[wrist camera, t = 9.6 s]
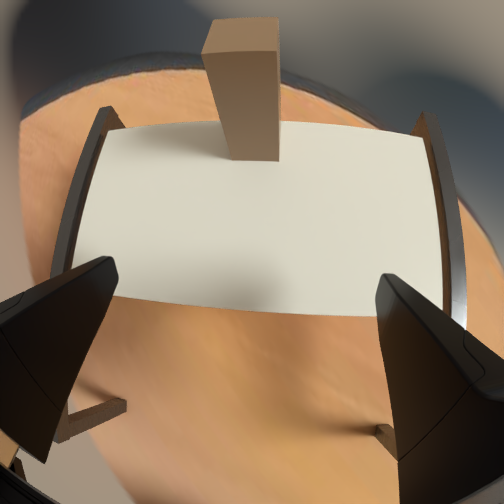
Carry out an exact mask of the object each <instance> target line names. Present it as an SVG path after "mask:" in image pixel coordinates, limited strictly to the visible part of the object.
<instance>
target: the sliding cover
mask: <svg viewBox="0 0 504 504" xmlns="http://www.w3.org/2000/svg"><path fill="white" fill-rule="evenodd" d="M201 55H202V59H203V62H204V66H205V69H206V72H207V76H208V79H209V83H210V86H211V90H212V93H213V97H214V100H215V104H216V107H217V111H218V114H219V118H220V121H199V122H182V123H169V124H158V125H148V126H140V127H132V128H124V129H117V130H110V131H108V133H107V136H106V139H105V142H104V144H103V147H102V150H101V153H100V156H99V159H98V162H97V165H96V168H95V171H94V175H93V178H92V181H91V185H90V188H89V192H88V195H87V199H86V203H85V207H84V211H83V215H82V219H81V223H80V228H79V232H78V237H77V242H76V247H75V252H74V257H73V263H72V269H73V268H75V267H77V266H80V265H82V264H84V263H86V262H89V261H91V260H93V259H95V258H98V257H100V256H112V257H113V258H114V261H115V264H116V268H117V271H118V275H119V281H118V284H117V287H116V289H115V292H114V294H113V296H118V297H125V298H132V299H140V300H147V301H155V302H163V303H171V304H180V305H189V306H199V307H208V308H219V309H230V310H242V311H255V312H269V313H284V314H302V315H325V316H357V317H377V313H376V305H375V295H376V291H377V287H378V284H379V280H380V277H381V275H382V274H383V273H393V274H395V275H397V276H398V277H399V278H401V279H402V280H403V281H405V282H406V283H407V284H409V285H410V286H411V287H413V288H414V289H415V290H417V291H418V292H419V293H421V294H422V295H423V296H424V297H426V298H427V299H428V300H430V301H431V302H432V303H433V304H435V305H436V306H437V307H439V308H440V309H441V310H442V311H443V288H442V262H441V247H440V236H439V226H438V218H437V210H436V203H435V196H434V190H433V184H432V179H431V173H430V168H429V164H428V159H427V154H426V150H425V146H424V142H423V138H421V137H416V136H410V135H405V134H399V133H394V132H388V131H381V130H374V129H367V128H360V127H352V126H343V125H333V124H322V123H309V122H292V121H281V97H280V56H279V55H280V53H279V24H278V17H254V18H231V19H218V20H213V23H212V25H211V28H210V31H209V33H208V36H207V39H206V42H205V44H204V47H203V50H202V53H201Z"/></svg>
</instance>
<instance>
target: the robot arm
mask: <svg viewBox="0 0 504 504" xmlns="http://www.w3.org/2000/svg"><path fill="white" fill-rule="evenodd" d="M118 281H119V275H118V271H117V268H116V264H115V261H114V258H113V257H112V256H100V257H98V258H95V259H93V260H91V261H89V262H86V263H84V264H82V265H80V266H77V267H75V268H73V269H71V270H68V271H66V272H64V273H62V274H60V275H57V276H55V277H53V278H51V279H49V280H47V281H45V282H42V283H40V284H38V285H36V286H34V287H32V288H30V289H28V290H26V291H25V292H22V293H20V294H18V295H16V296H13V297H12V298H9V299H7V300H5V301H3V302H1V303H0V504H60V503H59V502H57V501H55V500H53V499H52V498H50V497H49V496H47V495H45V494H44V493H42V492H41V491H39V490H38V489H36V488H35V487H33V486H32V485H30V484H29V483H28V482H27V481H26V477H25V474H24V470H23V466H22V462H21V460H20V459H18V458H17V457H16V454H17V452H18V450H19V448H21V449H22V450H23V451H25V452H26V453H28V454H29V455H31V456H32V457H34V458H35V459H37V460H38V461H40V462H42V463H43V464H45V462H46V460H47V457H48V453H49V450H50V447H51V444H52V441H53V438H54V435H55V433H56V430H57V427H58V424H59V421H60V418H61V416H62V413H63V410H64V407H65V405H66V402H67V400H68V397H69V395H70V392H71V390H72V387H73V385H74V382H75V380H76V378H77V375H78V373H79V371H80V368H81V366H82V364H83V361H84V359H85V357H86V355H87V353H88V350H89V348H90V346H91V344H92V342H93V340H94V338H95V335H96V333H97V331H98V329H99V327H100V325H101V323H102V321H103V319H104V317H105V314H106V312H107V310H108V307H109V304H110V302H111V299H112V297H113V294H114V292H115V289H116V287H117V284H118ZM375 305H376V313H377V323H378V333H379V341H380V347H381V352H382V357H383V362H384V367H385V372H386V378H387V384H388V390H389V396H390V402H391V409H392V416H393V424H394V432H395V441H396V451H397V461H398V478H399V498H400V504H504V359H502V358H501V357H500V356H498V355H497V354H496V353H494V352H493V351H492V350H490V349H489V348H488V347H487V346H485V345H484V344H483V343H481V342H480V341H479V340H478V339H477V338H475V337H474V336H473V335H472V334H471V333H469V332H468V331H467V330H465V329H464V328H463V327H462V326H461V325H460V324H458V323H457V322H456V321H455V320H454V319H452V318H451V317H450V316H449V315H447V314H446V313H445V312H444V311H442V310H441V309H440V308H439V307H437V306H436V305H435V304H433V303H432V302H431V301H430V300H428V299H427V298H426V297H424V296H423V295H422V294H421V293H419V292H418V291H417V290H415V289H414V288H413V287H411V286H410V285H409V284H407V283H406V282H405V281H403V280H402V279H401V278H399V277H398V276H397V275H395V274H393V273H383V274H382V275H381V277H380V280H379V284H378V287H377V291H376V295H375Z"/></svg>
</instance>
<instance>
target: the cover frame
mask: <svg viewBox="0 0 504 504" xmlns="http://www.w3.org/2000/svg"><path fill="white" fill-rule="evenodd" d="M124 128H126V127H125V126H124V124H123V123H122V122H121V120H120V119H119V118H118V114H117V113H116V112H115V110H114V109H113V107H112V106H107V107H102V108H100V109H99V111H98V113H97V116H96V118H95V120H94V123H93V125H92V127H91V130H90V132H89V135H88V137H87V140H86V142H85V145H84V148H83V151H82V153H81V156H80V159H79V162H78V165H77V168H76V171H75V174H74V177H73V180H72V183H71V186H70V190H69V193H68V197H67V200H66V204H65V208H64V211H63V215H62V219H61V223H60V228H59V232H58V236H57V241H56V246H55V251H54V256H53V262H52V268H51V274H50V279H51V278H53V277H55V276H57V275H60V274H62V273H64V272H66V271H68V270H71V269H72V263H73V257H74V252H75V247H76V242H77V237H78V232H79V228H80V223H81V219H82V215H83V211H84V207H85V203H86V199H87V195H88V192H89V188H90V185H91V181H92V178H93V175H94V171H95V168H96V165H97V162H98V159H99V156H100V153H101V150H102V147H103V144H104V142H105V139H106V136H107V133H108V131H110V130H117V129H124ZM410 136H416V137H421V138H423V142H424V146H425V150H426V154H427V159H428V164H429V168H430V173H431V179H432V184H433V190H434V196H435V203H436V210H437V218H438V226H439V236H440V247H441V262H442V288H443V311H444V312H445V313H446V314H447V315H449V316H450V317H451V318H452V319H454V320H455V321H456V322H457V323H458V324H460V325H461V326H462V327H463V328H464V329H465V330H466V319H467V290H466V267H465V254H464V243H463V234H462V226H461V219H460V212H459V206H458V200H457V194H456V189H455V184H454V179H453V175H452V170H451V166H450V162H449V158H448V154H447V150H446V146H445V142H444V139H443V136H442V132H441V129H440V126H439V122H438V119H437V116H436V114H433V113H429V112H425V111H422V113H421V115H420V117H419V118H418V120H417V123H416V125H415V127H414V129H413V130H412V132H411V134H410ZM126 406H127V401H125V400H122V399H119V398H115V399H112V400H110V401H107V402H104V403H101V404H99V405H96V406H93V407H90V408H87V409H85V410H82V411H79V412H76V413H73V414H70V415H68V403H67V402H66V405H65V407H64V410H63V413H62V416H61V418H60V421H59V424H58V427H57V430H56V433H55V435H54V438H53V441H54V442H56V443H62V442H64V441H66V440H69V439H70V437H73V436H75V435H77V434H79V433H82V432H84V431H86V430H88V429H91V428H93V427H95V426H97V425H99V424H102V423H104V422H106V421H108V420H110V419H112V418H114V417H116V416H118V415H120V414H122V413H124V412H126ZM375 437H376V438H377V439H378V440H379V442H380V443H381V444H382V445H383V446H384V447H385V448H386V449H387V450H388V451H389V453H390V454H391V455H392V456H393V457H394V458H395V459H396V460H397V451H396V441H395V432H394V429H393V428H392V427H391V426H390V425H389V424H385V425H377V427H376V432H375Z"/></svg>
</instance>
